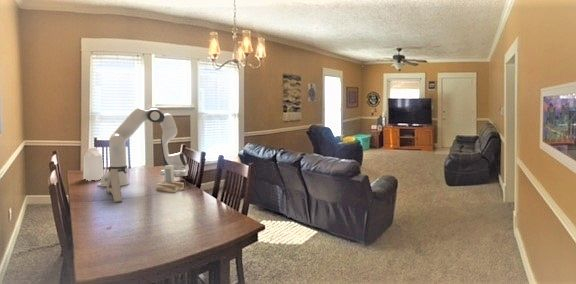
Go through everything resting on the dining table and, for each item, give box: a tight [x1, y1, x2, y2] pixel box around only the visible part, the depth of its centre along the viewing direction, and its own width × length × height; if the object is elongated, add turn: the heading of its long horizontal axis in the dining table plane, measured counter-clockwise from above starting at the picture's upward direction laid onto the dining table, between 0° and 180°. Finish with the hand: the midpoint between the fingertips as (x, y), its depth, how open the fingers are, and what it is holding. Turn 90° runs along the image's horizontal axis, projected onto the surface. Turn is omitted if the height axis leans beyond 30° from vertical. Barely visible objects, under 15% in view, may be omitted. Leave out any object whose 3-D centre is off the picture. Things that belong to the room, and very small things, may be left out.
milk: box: [82, 146, 105, 182], centre depth 326 cm, size 12×12×26 cm
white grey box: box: [163, 165, 175, 182], centre depth 301 cm, size 4×6×15 cm
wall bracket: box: [106, 169, 123, 204], centre depth 268 cm, size 22×4×30 cm
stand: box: [155, 180, 185, 193], centre depth 288 cm, size 11×16×4 cm
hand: (169, 174), depth 301 cm, fingers open, 8 cm apart
